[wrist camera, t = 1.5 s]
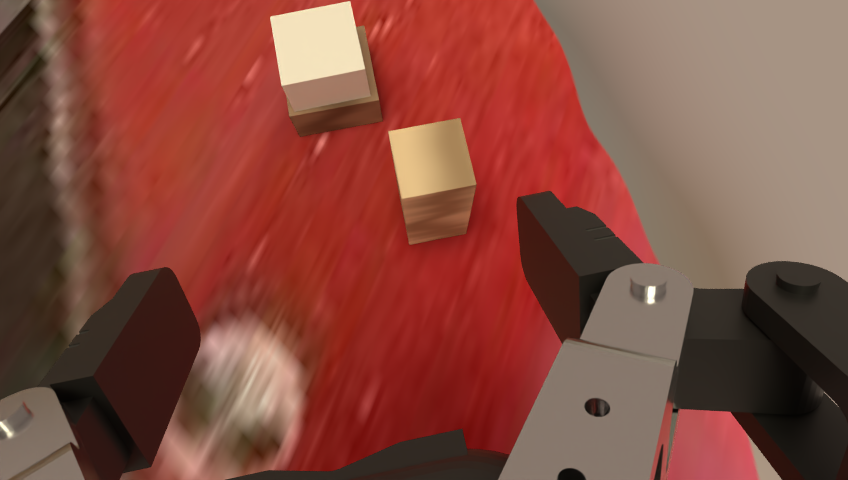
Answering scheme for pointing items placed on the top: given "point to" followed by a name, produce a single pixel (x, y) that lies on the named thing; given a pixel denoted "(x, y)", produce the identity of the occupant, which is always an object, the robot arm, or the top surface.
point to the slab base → (342, 105)
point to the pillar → (433, 179)
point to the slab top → (319, 56)
